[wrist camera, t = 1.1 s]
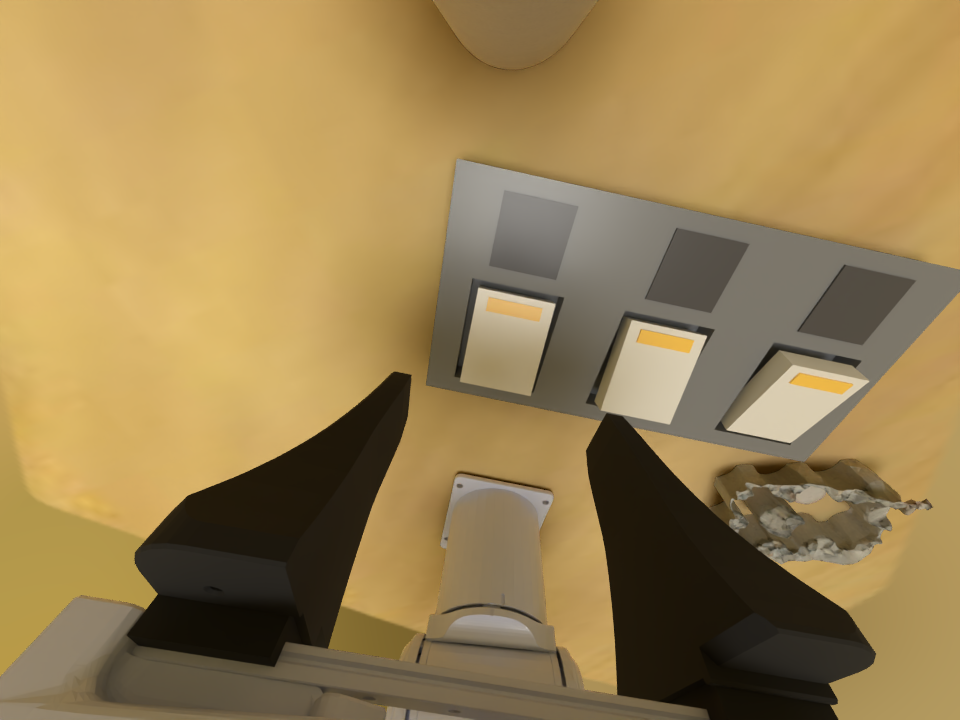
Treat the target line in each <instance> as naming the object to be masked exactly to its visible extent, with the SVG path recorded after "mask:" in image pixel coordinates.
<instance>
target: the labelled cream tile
mask: <svg viewBox="0 0 960 720" xmlns="http://www.w3.org/2000/svg"><path fill="white" fill-rule="evenodd" d="M555 305H556V304H555V303H554V302H553V301H550V300H545V299H541V298H536V297H531V296H527V295H522V294H517V293H512V292H508V291H503V290H498V289H493V288H489V287H484V286H479V288H478V293H477V298H476V303H475V308H474V313H473V318H472V323H471V328H470V333H469V338H468V343H467V348H466V353H465V358H464V363H463V368H462V373H461V378H460V382H463V383H468V384H473V385H478V386H483V387H488V388H493V389H498V390H503V391H508V392H512V393H517V394H522V395H527V396H531V393H532V389H533V385H534V382H535V378H536V374H537V371H538V367H539V363H540V360H541V356H542V352H543V349H544V345H545V341H546V338H547V334H548V330H549V327H550V323H551V319H552V316H553V312H554V308H555Z"/></svg>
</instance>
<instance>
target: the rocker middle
mask: <svg viewBox="0 0 960 720" xmlns="http://www.w3.org/2000/svg"><path fill="white" fill-rule="evenodd" d="M706 338H707V336H706V335H703V334H701V333H698V332H695V331H692V330H687V329H682V328H678V327H673V326H668V325H664V324H659V323H654V322H649V321H645V320H640V319H635V318H630V317H626V316H623V318H622V321H621V324H620V327H619V330H618V333H617V336H616V339H615V342H614V345H613V348H612V351H611V354H610V357H609V360H608V363H607V366H606V369H605V372H604V374H603V377H602V380H601V383H600V386H599V389H598V392H597V395H596V398H595V401H594V402H595V403H596V405H597V406H598V407H599V409H600V410H601V411H606V412H611V413H616V414H620V415H625V416H630V417H635V418H640V419H645V420H650V421H655V422H660V423H665V424H670V423H671V421H672V418H673V416H674V413H675V411H676V409H677V406H678V404H679V402H680V399H681V397H682V395H683V392H684V390H685V387H686V385H687V383H688V380H689V378H690V376H691V373H692V371H693V369H694V366H695V364H696V361H697V359H698V357H699V354H700V352H701V350H702V347H703V345H704V343H705V340H706Z"/></svg>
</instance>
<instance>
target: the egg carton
mask: <svg viewBox="0 0 960 720" xmlns="http://www.w3.org/2000/svg"><path fill="white" fill-rule="evenodd" d="M714 486H715V487H716V489H717V491H718V492H719V493H720V495H721V497H722V498H723V500H724V502H722V503H720V504H718V505H716V506H712V507H709V509H710V510H711V511H712V512H713V513H714V514H716V515H717V516H718V517H719V518H720V519H721V520H722V521H724V522H725V523H726V524H727V525H728V526H729V527H731V528H732V529H733V530H734V531H735V532H737V533H738V534H739V535H740V536H742V537H743V538H744V539H745V540H747V541H748V542H749V543H750V544H751V545H753V546H754V547H755V548H757V549H758V550H759V551H761V552H762V553H763V554H764V555H766V556H767V557H768V558H771V559H772V560H774V561H776V562H778V563H780V564H783V563H785V562H787V561H810V560H820V561H825V562H831V563H836V564H842V565H848V564H854V563H857V562H859V561H860V560H862V559H863V558H864V557H866V556H867V555H869V554H870V553H871V551H872V549H873V547H874V545H876V544H882V541H881V539H880V536H881V533H882V532H883V530H888V531H891V530H892V525H891V523H890V521H889V520H888V519H887V517H886V514H887V513H888V511H889V509H890V507H892V508H894V509H899V510H900V511H901V512H902V513H904V514H905V515H910V514H911V513H913V512H914V511H915V510H916V509H920V510H921V509H925V508H926V509H927V510H929V509H931V508H932V505H931V503H930V502H929V501H928V500H927V499H925V500H924V501H922V502H916V501H913V500H909V501H906V502H904V503H903V502H901V497H900V495H899V494H898V493H897V492H896V491H895V490H893V489H892V488H891V487H890V486H889V485H888V484H887V483H885V482H884V481H883V480H882V479H880V478H879V477H878V476H877V475H876V474H875V473H874V472H873V471H871V470H870V469H869V468H867V467H866V466H864V465H863V464H861V463H860V462H859V461H857V460H853V459H848V460H840V461H839V463H837V464H836V465H835V466H833V467H832V468H830V469H827V470H824V471H819V472H814V471H813V470H811V469H810V468H809V466H808V465H807V464H806V463H804V462H796V463H791V464H786V465H785V466H784V467H783V468H782V469H780V470H779V471H777V472H774V473H770V474H759V473H758V472H757V471H756V469H755V468H754V466H753V465H752V464H742V465H737V466H736V467H735V468H734V469H733V470H732V471H731V472H730V473H728V474H725V475H722V476H718V477H716V479H715V483H714ZM826 492H827V493H828V494H829V496H830V497H831V498H832V499H833V500H835V501H837V502H842V501H846V502H847V503H848V504H849V505H850V506H851V507H850V509H849V510H848V511H845V512H840V513H838V514H835V515H833V516H832V517H831V518H830V519H829V520H828V521H826V522H816V520H815V519H814V518H813V517H812V516H811V515H809V514H807V513H796V512H795V511H794V510H793V509H792V508H791V506H790V505H789V504H788V503H787V502H786V501H785V500H787V501H788V502H794V501H795V502H797V503H801V504H811V503H814V502H817V501H818V500H820V499H822V498H823V497H824V496H825V494H826ZM737 499H739V500H743V501H744V502H745V504H746V505H747V507H748V508H749V509H750V511H751V512H752V513H753V514H750V515H745V516H743V514H742V513H741V511H740V510H739V508H738V507H737V505H736V504H735V502H734V501H733V500H737ZM784 499H785V500H784Z"/></svg>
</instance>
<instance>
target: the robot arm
mask: <svg viewBox="0 0 960 720" xmlns="http://www.w3.org/2000/svg"><path fill="white" fill-rule="evenodd" d="M410 386H411V375H410V374H405V373H399V372H393V373H391V374H390V375H389V376H388V378H386V379H385V380H384V381H383V382H382V383H381V384H380V385H379V386H378V387H377V388H376V389H375V390H374V391H373V392H372V393H371V394H369V395H368V396H367V397H366V398H365V399H364V400H362V401H361V402H360V403H359V404H358V405H356V406H355V407H354V408H353V409H351V410H350V411H349V412H348V413H346V414H345V415H344V416H342V417H341V418H340V419H338V420H337V421H336V422H334V423H333V424H331V425H330V426H329V427H327V428H326V429H324V430H323V431H321V432H320V433H318V434H317V435H315V436H313V437H312V438H310V439H309V440H307V441H305V442H303V443H302V444H300V445H298V446H297V447H295V448H293V449H291V450H290V451H288V452H286V453H284V454H282V455H280V456H279V457H277V458H275V459H273V460H271V461H268V462H266V463H264V464H262V465H260V466H258V467H256V468H254V469H252V470H250V471H248V472H245V473H243V474H241V475H239V476H236V477H234V478H232V479H229V480H226V481H224V482H221V483H219V484H216V485H214V486H211V487H209V488H206V489H204V490H201V491H199V492H196V493H193V494H191V495H188V496H187V497H186V498H185V499H184V500H183V501H182V502H181V503H180V504H179V505H178V506H177V507H176V508H175V509H174V510H173V511H172V512H171V513H170V514H169V515H168V516H167V517H166V518H165V519H164V520H163V522H162V523H161V524H160V525H159V526H158V527H157V528H156V529H155V530H154V532H153V533H152V534H151V535H150V536H149V537H148V538H147V539H146V541H145V542H144V543H143V544H142V545H141V546H140V547H139V548H138V549H137V551H136V552H135V564H136V566H137V568H138V570H139V571H140V572H141V574H142V575H143V576H144V577H145V578H146V580H147V581H148V582H149V583H150V585H151V586H152V587H153V588H154V589H155V591H156V592H157V593H158V595H157V596H156V598H155V599H154V600H153V601H152V603H151V604H150V605H149V607H148V608H147V609H146V610H145V609H144V608H142V607H140V606H137V605H135V604H131V603H127V602H121V601H114V600H108V599H102V598H96V597H90V596H83V595H81V596H79V597H75V598H74V599H73V600H72V601H71V602H70V603H69V604H68V605H67V607H66V608H64V609H63V611H62V612H61V613H60V614H59V615H58V616H57V617H56V618H55V619H54V620H53V621H52V622H51V623H50V624H49V626H47V627H46V629H45V630H44V631H43V632H42V633H41V634H40V635H39V636H38V637H37V638H36V639H35V640H34V641H33V642H32V643H31V644H30V645H29V647H28V648H27V649H26V650H25V651H24V652H23V653H22V654H21V655H20V656H19V657H18V658H17V659H16V660H15V661H14V663H12V665H11V666H10V667H9V668H8V669H7V670H6V671H5V672H4V673H3V674H2V675H1V676H0V720H385V718H386V720H838V718H837V716H836V715H835V713H834V711H833V709H832V707H831V706H830V705H835V704H838V700H837V698H836V696H835V694H834V692H833V691H832V689H831V687H830V685H829V684H828V683H831V682H834V681H836V680H839V679H842V678H844V677H847V676H850V675H852V674H855V673H858V672H860V671H862V670H864V669H867V668H868V667H869V666H871V665H872V664H873V663H874V659H875V655H876V653H875V651H874V650H873V649H872V647H871V646H870V644H869V643H868V641H867V640H866V638H865V637H864V635H863V634H862V633H861V631H860V630H859V628H858V627H857V625H856V624H855V622H854V621H853V619H852V618H851V617H850V615H849V614H848V613H847V611H846V610H844V609H843V608H841V607H840V606H838V605H837V604H835V603H833V602H832V601H830V600H829V599H827V598H826V597H824V596H823V595H821V594H820V593H818V592H817V591H815V590H814V589H812V588H811V587H809V586H808V585H806V584H805V583H803V582H802V581H800V580H799V579H797V578H796V577H795V576H793V575H792V574H790V573H789V572H788V571H786V570H785V569H784V568H782V567H781V566H779V565H778V564H777V563H775V562H774V561H772V560H771V559H770V558H768V557H767V556H766V555H764V554H763V553H762V552H761V551H759V550H758V549H757V548H755V547H754V546H753V545H751V544H750V543H749V542H748V541H747V540H745V539H744V538H743V537H742V536H740V535H739V534H738V533H737V532H735V531H734V530H733V529H732V528H731V527H729V526H728V525H727V524H726V523H725V522H724V521H722V520H721V519H720V518H719V517H718V516H717V515H716V514H714V513H713V512H712V511H711V510H710V509H709V508H708V507H707V506H706V505H705V504H704V503H702V502H701V501H700V500H699V499H698V498H697V497H696V496H695V495H694V494H693V493H692V492H691V491H690V490H689V489H688V488H687V487H686V486H685V485H684V484H683V483H682V482H681V481H680V480H679V479H678V478H677V477H676V476H675V475H674V473H673V472H672V471H671V470H670V469H669V468H668V467H667V466H666V465H665V464H664V463H663V461H662V460H661V459H660V458H659V457H658V456H657V455H656V454H655V452H654V451H653V450H652V449H651V448H650V447H649V445H648V444H647V443H646V442H645V441H644V440H643V438H642V437H641V436H640V435H639V434H638V433H637V432H636V430H635V429H634V428H633V427H632V426H631V425H630V424H629V422H628V421H627V420H626V419H625V418H624V417H623V416H619V415H614V414H609V413H606V415H605V416H604V418H603V420H602V422H601V424H600V426H599V428H598V429H597V431H596V433H595V435H594V437H593V439H592V440H591V442H590V444H589V446H588V448H587V450H586V454H587V466H588V475H589V480H590V485H591V489H592V494H593V498H594V502H595V506H596V510H597V515H598V519H599V523H600V527H601V531H602V536H603V541H604V546H605V551H606V559H607V566H608V574H609V582H610V591H611V601H612V610H613V623H614V636H615V651H616V671H617V695H613V694H607V693H600V692H595V691H588V690H585V689H584V685H583V681H582V677H581V673H580V670H579V667H578V665H577V663H576V662H575V661H574V659H573V658H572V657H571V656H570V653H569V652H568V650H567V649H566V648H564V647H556V643H555V633H554V627H553V626H551V625H547V614H546V603H545V591H544V580H543V568H542V557H541V545H540V534H539V531H540V528H541V526H542V524H543V522H544V519H545V517H546V515H547V513H548V510H549V508H550V506H551V504H552V501H553V499H554V496H553V493H552V492H551V491H548V490H543V489H538V488H532V487H527V486H522V485H517V484H512V483H507V482H502V481H497V480H492V479H487V478H482V477H476V476H471V475H466V474H457V475H456V476H455V480H454V484H453V489H452V493H451V498H450V502H449V507H448V511H447V516H446V520H445V525H444V529H443V534H442V538H441V543H440V546H441V547H442V548H444V549H446V554H445V560H444V566H443V572H442V578H441V584H440V590H439V596H438V602H437V608H436V613H435V615H434V614H431V615H430V616H429V622H428V627H427V633H426V634H423V633H418V634H416V635H415V636H414V637H413V639H412V640H411V641H410V642H409V643H408V644H407V645H406V646H405V648H404V649H403V652H402V654H401V657H400V659H399V660H395V659H389V658H382V657H377V656H370V655H364V654H358V653H351V652H345V651H339V650H333V649H328V646H329V643H330V639H331V636H332V632H333V629H334V626H335V622H336V619H337V616H338V612H339V609H340V605H341V602H342V599H343V595H344V592H345V589H346V586H347V582H348V579H349V576H350V573H351V569H352V566H353V563H354V560H355V557H356V554H357V551H358V547H359V544H360V541H361V538H362V535H363V532H364V529H365V526H366V523H367V520H368V517H369V514H370V511H371V508H372V505H373V503H374V500H375V498H376V495H377V493H378V491H379V488H380V486H381V484H382V481H383V479H384V477H385V475H386V472H387V470H388V468H389V466H390V463H391V461H392V459H393V457H394V454H395V452H396V450H397V447H398V445H399V443H400V440H401V437H402V434H403V431H404V427H405V424H406V421H407V417H408V408H409V397H410ZM545 500H547V501H545ZM374 704H377V705H384V706H388V708H387V713H386V711H385V708H383V707H380V706H377V705H374Z"/></svg>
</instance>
